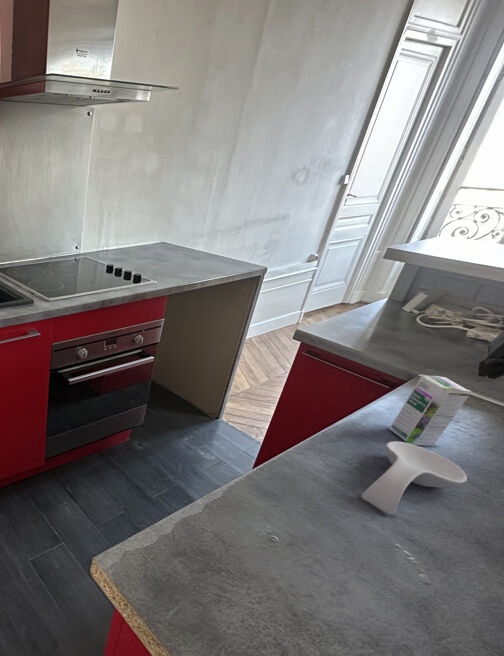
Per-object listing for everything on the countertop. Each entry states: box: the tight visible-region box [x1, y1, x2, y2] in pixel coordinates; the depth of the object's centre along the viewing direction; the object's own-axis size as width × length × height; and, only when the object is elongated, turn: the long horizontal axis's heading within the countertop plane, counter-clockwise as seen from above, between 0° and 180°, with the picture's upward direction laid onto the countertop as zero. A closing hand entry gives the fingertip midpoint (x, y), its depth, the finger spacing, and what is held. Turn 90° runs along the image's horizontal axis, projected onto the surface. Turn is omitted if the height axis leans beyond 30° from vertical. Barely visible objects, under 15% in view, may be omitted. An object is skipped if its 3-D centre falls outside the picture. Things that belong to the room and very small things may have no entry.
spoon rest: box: [360, 440, 468, 516], centre depth 77 cm, size 24×12×7 cm, turn 121°
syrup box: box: [388, 375, 472, 447], centre depth 88 cm, size 6×6×14 cm
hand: (486, 370), depth 75 cm, fingers closed
